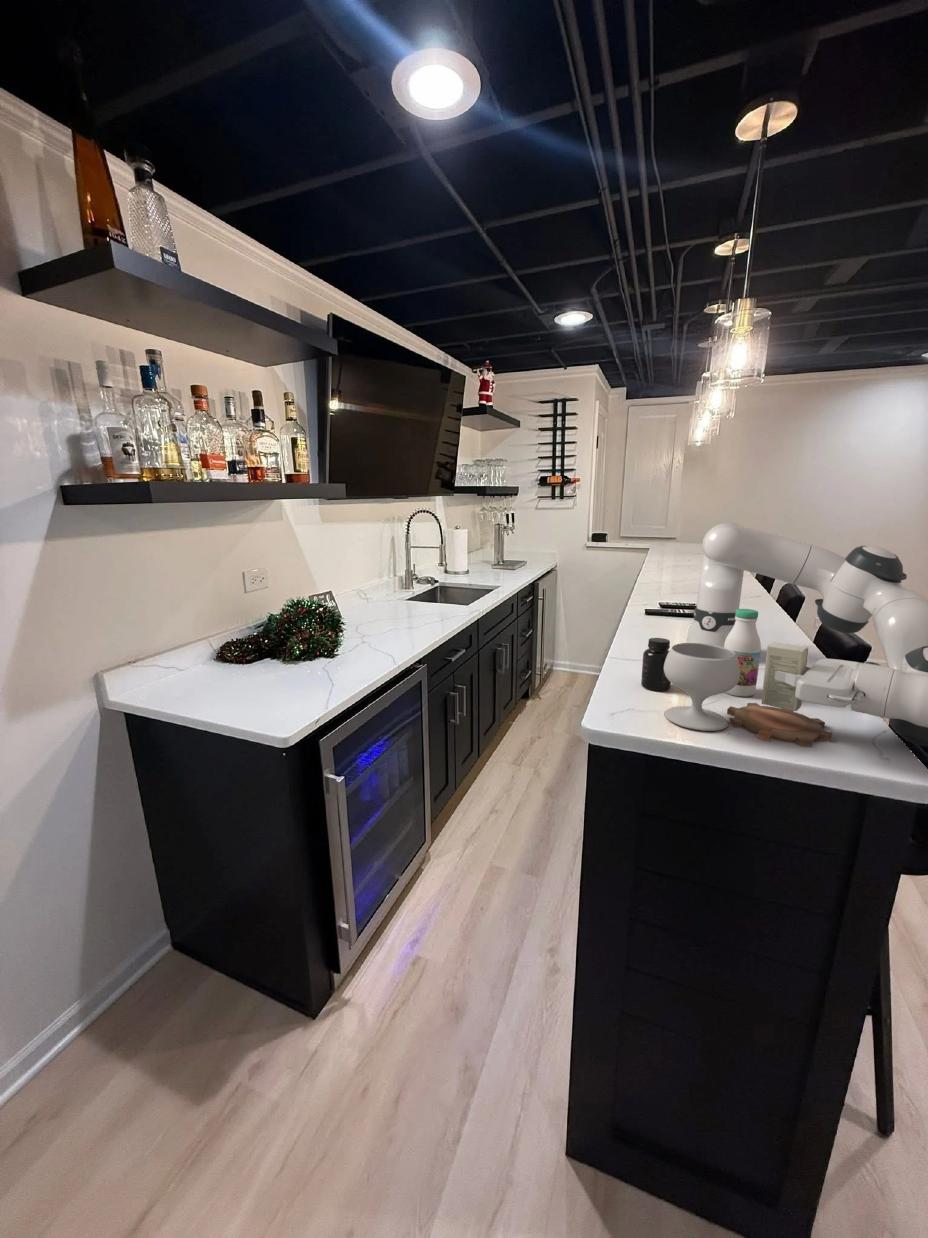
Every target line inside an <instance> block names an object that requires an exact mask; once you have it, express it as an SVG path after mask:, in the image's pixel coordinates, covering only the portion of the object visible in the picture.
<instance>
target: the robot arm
mask: <svg viewBox="0 0 928 1238" xmlns="http://www.w3.org/2000/svg"><path fill="white" fill-rule="evenodd" d="M701 545H702V551H703V558H702V565H701V571H700V577H699V582H698V583H699V584H698V592H697V600H696V607H694V612H693V620H694V621H692V622H690V624H688V626H687V630H686V636H685V642H684V643H701V644H709V645H715V646H720V647H723V648H724V644H725V640H726V638H727V636H728V634H729V633H730V631H731V630H732V628H733V626H734V624H735V622H736V619H735V613H736V610H737V609H740V604H741V597H742V589H743V588H742V587H743V581H744V579H743V578H744V574H745V573H744V572H745V571H746V572H749V573H753V574H758V575H761V576H765V577H769V578H771V579H776V580H778V581H782V582H784V583H788V584H791V585H794V586H795V585H796V586H799V587H802V588H805V589H806V588H807V589H811V590H814V591H817V592H818V593H819V594H821V595H822V598H818V599H815V600H814V604H815V605H816V607H817V608H816V610H817V612H816V614H817V617H818V619H819V621H820V623H821V624H822V625H824V626H825V627H827V628H829V629H831V630H833V631H836V632H838V633H843V634H854V633H858V632H860V631H861V630H862V629H863V628H865V627H866V625H868V623H869V619H870V618H871V617H872V622H873V626H874V629H875V631H876V634H877V635H876V636H877V638H878V640H879V643H880V645H881V649H882V652H883V655H884V658H885V662H886V666H883V665H882V664H881V663H878V662H876V661H870V660H867V661H864V662H859V661H853V660H852V661H851V660H846V659H845V660H844V659H838V658H837V659H836V658H819V659H818V660H817V661H816V662H815V663H814V664H813V665H808V664H807V665H806V673H805V674H804V675H798V674H797V675H795V674H791V673H788V672H787V671H782V670H778V671H777V672H776V673H775V680H777V681H782V682H785V683H787V684H789V685H792V686H794V687H796V691H795V697H796V698H797V699H799V700H802V702H807V703H812V704H817V705H821V706H827V707H832V708H833V707H835V708H845V707H847V706H848V705H850V710H851V711H852V712H856V713H861V714H866V715H870V716H874V717H878V718H884V719H888V725H890V727H891V728H892V730H894V731H895V732H896V733H897V734H898V735H899V736H900V737H901V738H903V739H904V740H905V741H907V742H909V743H911V744H914V745H917V746H920V747H925V748H926V747H927V748H928V598H926V597H925V596H923V595H922V594H920V593H919V592H916V591H913V590H911V589H909V588H905V587H903V586H902V584H901V583H902V581H904V580H907V577H908V576H907V574H906V573H904V568H903V567H904V565H903V563H902V562H901V560H900V558H899V557H898V555H896V554H895V553H893V552H891V551H890V550H889V549H887V548H884V547H881V546H876V545H875V546H874V545H861V546H857V547H855V548H854V549H852V550H851V551H850V552H849V553H848V554H847V555H846V557H844V556H843V555H841V554H838V553H836V552H834V551H831V550H828V549H826V548H823V547H820V546H817V545H813V544H810V543H807V542H802V541H799V540H795V539H791V538H788V537H783V536H780V535H777V534H771V533H768V532H764V531H760V530H756V529H751V528H747V527H744V526H741V525H739V524H736V523H734V522H722V523H721V522H720V523H718V524H717V525H715V526H713V527H712V528H710V529H709V530H708V531H707V532H706V533H705V535H704V536H703V539H702V544H701Z"/></svg>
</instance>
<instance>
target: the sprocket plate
mask: <svg viewBox="0 0 928 1238" xmlns="http://www.w3.org/2000/svg"><path fill="white" fill-rule="evenodd" d="M726 715H728V716H729V715H730V716H731V717H729V722H728V725H729V724H730V725H731V726H732V727H733V728H742V729H744V730H745V731H748V732H749V733H753V734H756V735H757V739H760V740H763V741H767V742H770V741H771V740H775V741H781V742H786V743H795V744H796V745H798V746H799V747H812V746H813V745H812V744H813V742H816V741H818V740H821V741H826V742H829V743H830V742H831V739H832V736H833V732H831V731H828V730H823V729H825V725H826V724H825V723H826V722H825V721H824V720H822V719H820V718H819V717H817V718H816V717H815V718H812V717H808V716H806V715H804V714H802V713H798V712H797V711H792V710H787V709H782V708H778V707H773V706H769V705H760V704H759V703H757V702H747V703H746V705H745V706H741V707H735V706H729V707H728V708H727V710H726ZM732 716H733V717H732Z"/></svg>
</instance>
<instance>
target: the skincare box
mask: <svg viewBox="0 0 928 1238" xmlns="http://www.w3.org/2000/svg"><path fill="white" fill-rule="evenodd" d="M808 654H809V647H808V646H802V645H793V644H788V643H787V644H786V643H781V642H779V643H778V642H772V643H770V644H769V645H767V647H766V656H765V657H766V658H765V666H764V674H763V683H762V684H763V687H762V694H761V695H762V697H761V704H762V705H763V706H768V707H775V708H782V709H787V710H792V711H794V712H798V710H799V709H800V708H801V707H802V704H803V701H802V700H799V699H797V698H796V697H795V691H796V687H794V686H792V685H789V684H787V683H785V682H782V681H777V680H775V673H776V672H777V671H778V670H782V671H787V672H788V673H791V674H795V675H797V674H798V675H804V674H805V673H806V665H808V664H807V662H808V656H809V655H808Z"/></svg>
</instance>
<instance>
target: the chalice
mask: <svg viewBox="0 0 928 1238" xmlns="http://www.w3.org/2000/svg"><path fill="white" fill-rule="evenodd" d="M664 672H665V676H666V677H667V679H668V680H669V681H670V682H671V685H674V686H675V687H676V688H678V689H681V691H683V692H684V693H686V694H687V695H688V696H689V697H690V699H691V705H690V706H689V705H683V706H682V705H679V706H671V707H670V708H667V709H665V710H664V712H663V716H664V717H665V718H666V719H667V720H668V721H669V722H671V723H673V724H675V725H677V726H680V727H681V728H682V727H683V728H685V729H690V730H696V731H704V732H705V731H706V732H711V731H712V732H713V731H717V732H718V731H721V730H725V729H726V728H727V727H728V726H729V722H728V720H727V719H726V718H725V716H722V715H721V714H720V713H717V712H716V711H712V710H709V709H706V708H703V707H702V706H703V702H704V701H705V700H706V699H708V698H709V697H712V696H716V695H720V694H725V693H724V692H727V691H729V690H731V689H733V688H734V687H735V686H736V685H737V684H738V682H739V679H740V667H739V661H738V658H737V656H736V654H735V653H734V652H733V651H731V650H729V649H726V648H723V647H720V646H715V645H709V644H701V643H685V642H683V643H677V644H674V645H672V646H671V647H670V648H669V653H668V655H667V657H666V660H665V663H664Z"/></svg>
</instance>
